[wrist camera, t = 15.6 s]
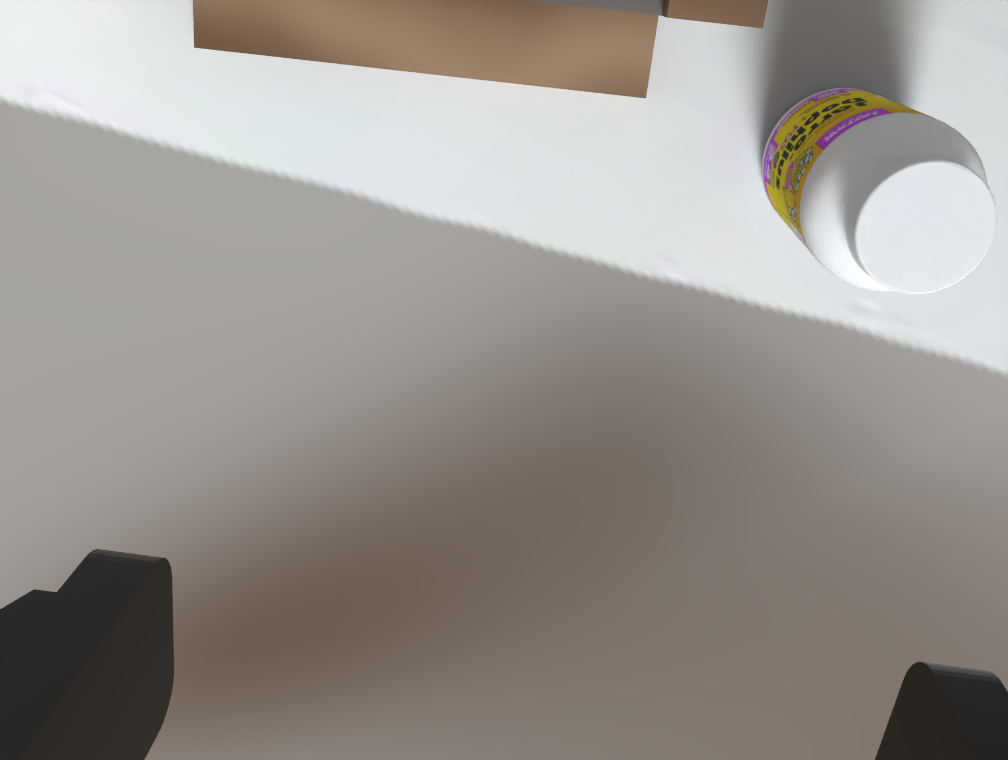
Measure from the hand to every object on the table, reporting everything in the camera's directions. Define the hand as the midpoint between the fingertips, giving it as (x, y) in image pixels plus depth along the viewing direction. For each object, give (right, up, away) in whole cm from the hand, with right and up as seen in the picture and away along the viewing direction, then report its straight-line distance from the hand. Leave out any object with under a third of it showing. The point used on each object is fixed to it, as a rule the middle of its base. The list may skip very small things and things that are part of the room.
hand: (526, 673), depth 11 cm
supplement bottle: (+15, +13, +34) cm, 40 cm away
